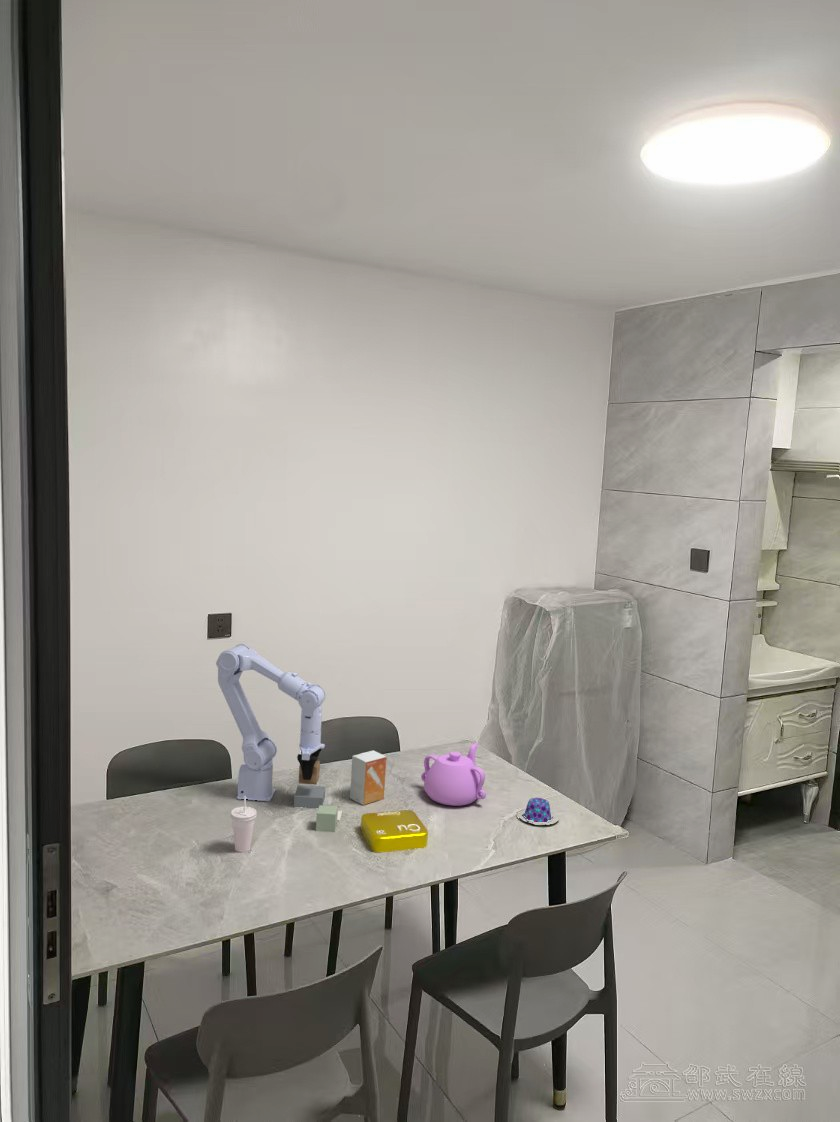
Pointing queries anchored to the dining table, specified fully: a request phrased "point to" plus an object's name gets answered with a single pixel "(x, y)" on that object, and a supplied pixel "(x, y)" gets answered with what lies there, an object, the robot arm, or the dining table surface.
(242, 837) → the smoothie
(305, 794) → the slate block
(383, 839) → the element tile
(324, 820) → the sage cube
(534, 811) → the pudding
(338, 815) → the card
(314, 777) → the walnut cube
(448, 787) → the teapot
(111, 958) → the dining table surface
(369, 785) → the small box
